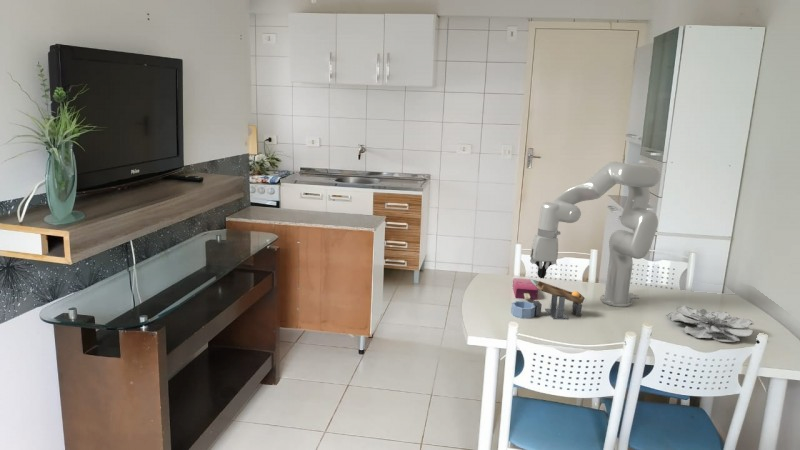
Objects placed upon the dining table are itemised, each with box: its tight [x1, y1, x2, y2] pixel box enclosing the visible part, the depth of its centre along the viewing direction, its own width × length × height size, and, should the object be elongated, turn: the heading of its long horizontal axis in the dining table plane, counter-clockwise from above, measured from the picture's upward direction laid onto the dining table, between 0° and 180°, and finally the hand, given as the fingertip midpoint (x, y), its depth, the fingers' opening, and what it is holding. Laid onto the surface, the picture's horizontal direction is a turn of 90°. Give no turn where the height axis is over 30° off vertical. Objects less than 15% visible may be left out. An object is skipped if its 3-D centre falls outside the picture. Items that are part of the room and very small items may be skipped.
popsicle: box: [512, 277, 539, 301], centre depth 253 cm, size 9×5×20 cm
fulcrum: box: [532, 294, 583, 320], centre depth 231 cm, size 19×10×9 cm, turn 96°
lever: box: [530, 278, 585, 304], centre depth 234 cm, size 18×13×3 cm
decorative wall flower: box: [665, 304, 755, 343], centre depth 225 cm, size 30×7×30 cm
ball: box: [571, 290, 581, 297], centre depth 231 cm, size 3×3×3 cm
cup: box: [510, 300, 535, 319], centre depth 231 cm, size 9×9×4 cm
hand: (541, 277), depth 235 cm, fingers closed
